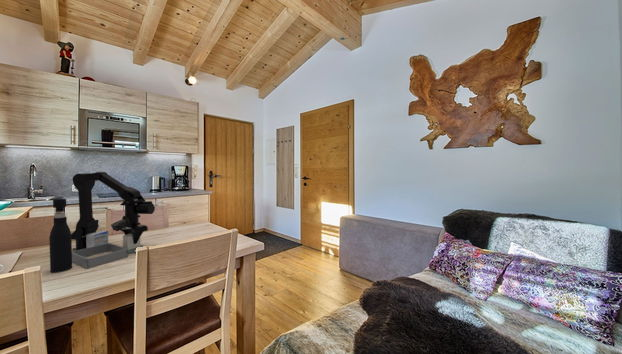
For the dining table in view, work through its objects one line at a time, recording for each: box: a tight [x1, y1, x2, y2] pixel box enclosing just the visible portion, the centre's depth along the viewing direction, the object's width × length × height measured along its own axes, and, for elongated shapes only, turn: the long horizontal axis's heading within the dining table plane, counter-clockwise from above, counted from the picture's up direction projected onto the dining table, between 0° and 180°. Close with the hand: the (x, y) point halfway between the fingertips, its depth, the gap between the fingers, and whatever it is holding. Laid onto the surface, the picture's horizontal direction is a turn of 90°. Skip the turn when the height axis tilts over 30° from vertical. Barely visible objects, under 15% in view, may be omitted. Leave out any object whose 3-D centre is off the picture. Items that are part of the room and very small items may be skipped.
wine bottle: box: [48, 198, 73, 274], centre depth 99 cm, size 6×6×30 cm
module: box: [122, 234, 141, 250], centre depth 124 cm, size 4×6×7 cm
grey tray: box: [72, 242, 129, 270], centre depth 112 cm, size 17×15×4 cm
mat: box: [128, 244, 144, 255], centre depth 125 cm, size 11×9×1 cm
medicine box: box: [86, 230, 109, 248], centre depth 124 cm, size 8×4×9 cm, turn 175°
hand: (132, 242), depth 124 cm, fingers open, 6 cm apart
